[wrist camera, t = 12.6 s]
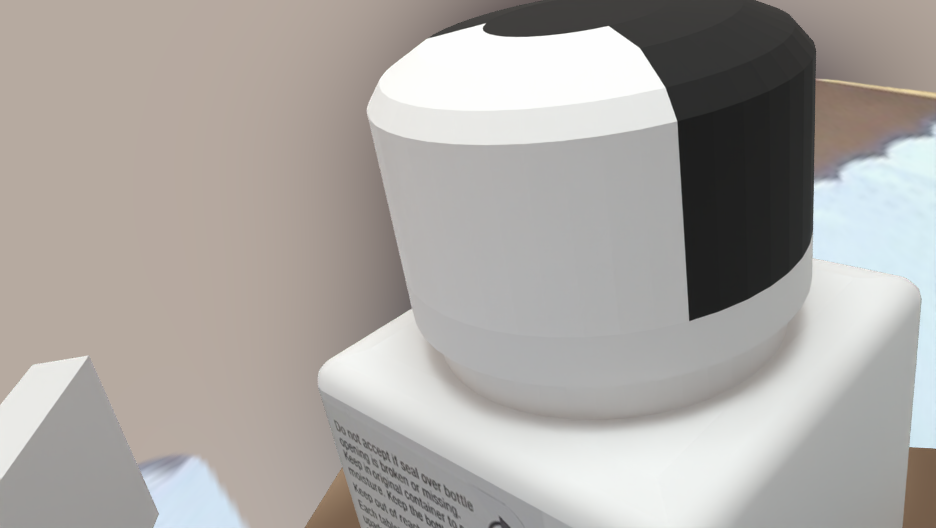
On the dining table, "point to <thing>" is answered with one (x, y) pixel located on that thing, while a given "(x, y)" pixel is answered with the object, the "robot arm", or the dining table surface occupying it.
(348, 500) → the serving board
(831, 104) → the dining table surface
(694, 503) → the container
